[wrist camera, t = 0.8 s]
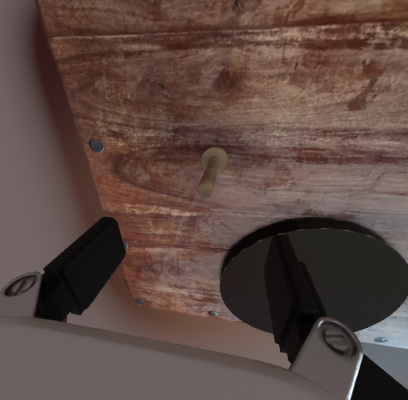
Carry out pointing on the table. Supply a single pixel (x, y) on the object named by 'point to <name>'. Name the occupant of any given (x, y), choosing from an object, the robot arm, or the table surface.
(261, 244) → the disc
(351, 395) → the robot arm
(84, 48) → the table surface
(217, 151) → the rod on round base
